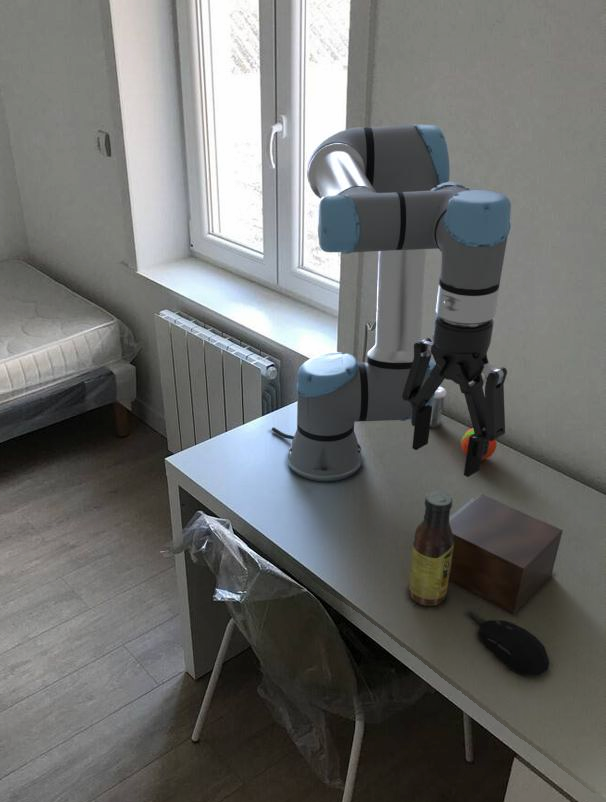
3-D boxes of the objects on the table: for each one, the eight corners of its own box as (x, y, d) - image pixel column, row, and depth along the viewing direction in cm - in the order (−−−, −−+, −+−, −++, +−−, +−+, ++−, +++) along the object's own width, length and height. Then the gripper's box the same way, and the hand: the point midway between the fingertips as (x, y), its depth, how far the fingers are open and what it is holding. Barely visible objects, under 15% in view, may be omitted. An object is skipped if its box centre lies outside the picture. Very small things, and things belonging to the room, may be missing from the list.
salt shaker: (416, 418, 177) (420, 379, 171) (440, 418, 176) (445, 379, 171) (419, 429, 173) (424, 389, 167) (444, 428, 173) (449, 389, 167)
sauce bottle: (446, 610, 127) (461, 514, 116) (407, 606, 128) (418, 510, 117) (445, 583, 132) (459, 488, 121) (408, 579, 134) (418, 485, 122)
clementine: (465, 470, 159) (470, 441, 155) (448, 453, 165) (452, 424, 161) (500, 463, 161) (505, 434, 157) (482, 446, 166) (487, 417, 162)
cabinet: (435, 572, 135) (441, 528, 129) (474, 537, 142) (482, 494, 136) (513, 614, 126) (523, 568, 120) (551, 574, 133) (563, 530, 127)
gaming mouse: (484, 607, 127) (488, 590, 125) (557, 667, 116) (562, 649, 114) (455, 622, 125) (458, 604, 123) (526, 685, 114) (531, 667, 112)
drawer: (425, 560, 136) (430, 524, 132) (462, 529, 143) (467, 494, 138) (502, 600, 127) (510, 564, 123) (537, 565, 134) (546, 530, 129)
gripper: (383, 301, 107) (373, 439, 120) (518, 351, 93) (490, 502, 106) (419, 286, 111) (406, 422, 124) (554, 333, 97) (523, 480, 110)
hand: (445, 458), depth 115 cm, fingers open, 9 cm apart
